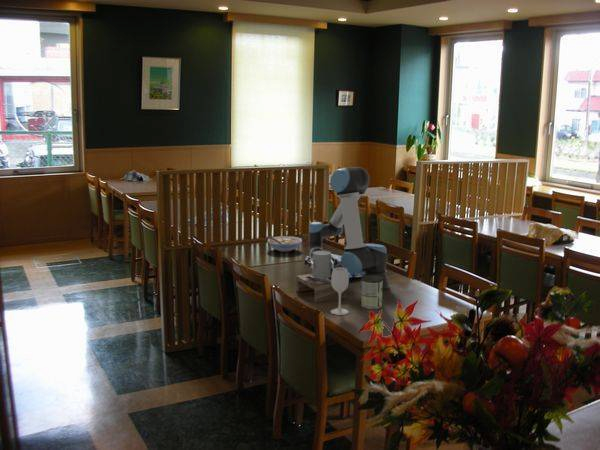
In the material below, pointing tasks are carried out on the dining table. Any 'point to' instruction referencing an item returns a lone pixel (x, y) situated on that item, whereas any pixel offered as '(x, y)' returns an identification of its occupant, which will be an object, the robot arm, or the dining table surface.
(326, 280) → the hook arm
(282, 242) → the ramen bowl
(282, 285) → the dining table surface
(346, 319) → the dining table surface
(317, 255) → the gray cylinder
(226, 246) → the dining table surface
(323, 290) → the shelf
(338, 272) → the wineglass
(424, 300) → the dining table surface
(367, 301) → the coffee can
